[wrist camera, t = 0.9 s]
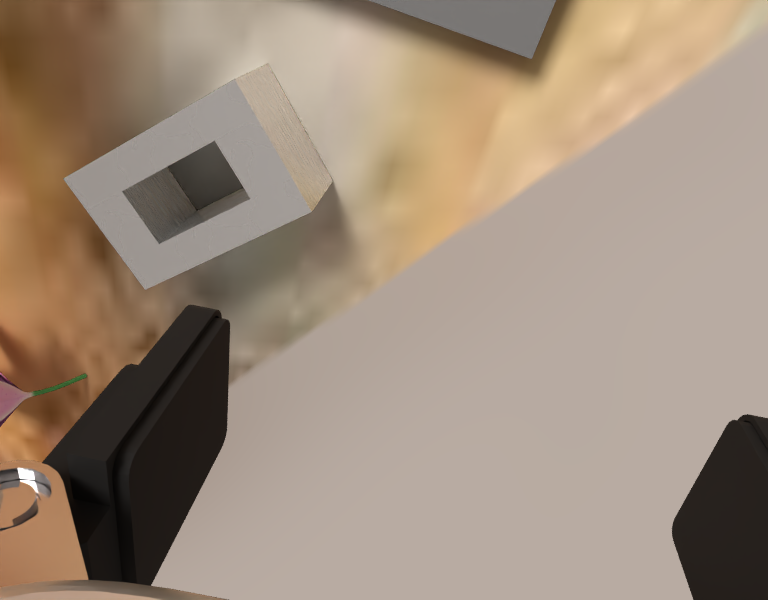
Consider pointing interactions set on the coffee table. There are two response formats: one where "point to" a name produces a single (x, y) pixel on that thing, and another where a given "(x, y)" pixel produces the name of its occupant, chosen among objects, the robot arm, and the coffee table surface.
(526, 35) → the grey piece
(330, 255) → the coffee table surface
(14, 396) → the lily
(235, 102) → the slotted block
